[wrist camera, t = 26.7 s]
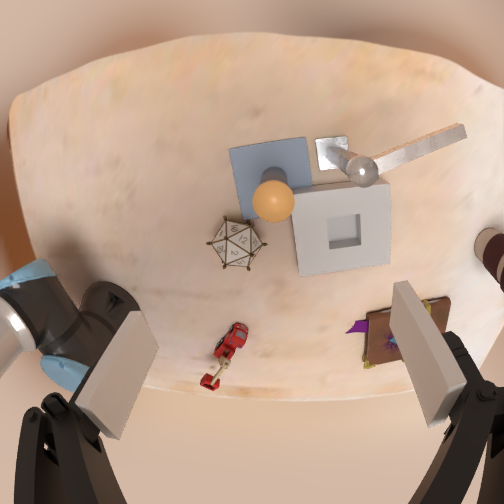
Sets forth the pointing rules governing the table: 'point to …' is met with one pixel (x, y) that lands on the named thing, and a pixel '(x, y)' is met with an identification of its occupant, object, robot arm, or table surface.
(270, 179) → the plug
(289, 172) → the pad
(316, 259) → the socket block
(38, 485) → the robot arm
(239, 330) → the toy fire truck
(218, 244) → the game die
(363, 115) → the table surface
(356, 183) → the silver ball-ended lever
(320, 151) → the post
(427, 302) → the book
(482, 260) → the coffee cup
